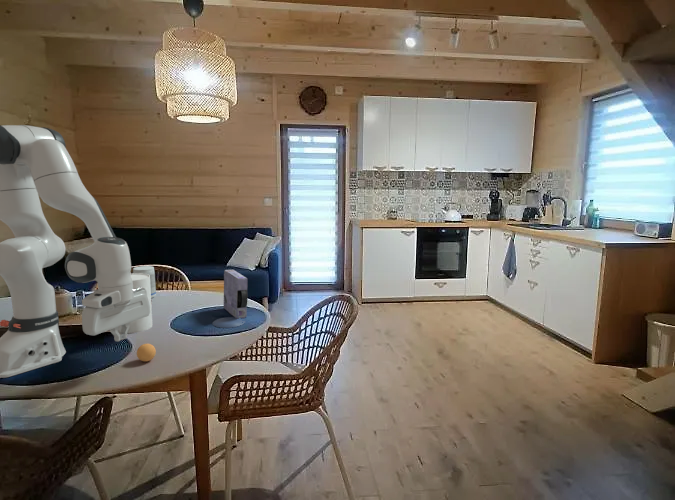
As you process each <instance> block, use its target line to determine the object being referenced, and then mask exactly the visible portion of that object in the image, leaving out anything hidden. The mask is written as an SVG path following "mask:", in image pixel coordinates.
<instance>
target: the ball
mask: <svg viewBox="0 0 675 500" xmlns="http://www.w3.org/2000/svg"><path fill="white" fill-rule="evenodd" d="M156 352H157V350H156V348H155V346H154V345H153V344H151V343H143V344H141V345H140V346H139V347H138V349H137V351H136V357H137V359H138V360H140V361H141V362H146V363H147V362H149V361H152V360H153V359H154V358H155V356H156V354H157V353H156Z"/></svg>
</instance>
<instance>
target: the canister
mask: <svg viewBox="0 0 675 500" xmlns="http://www.w3.org/2000/svg"><path fill="white" fill-rule="evenodd" d="M130 275H131V278H132V281H133V289H136V288H138V287H142V288H144V289H145V290H146V291H147V297H148V301H149V305H150V314H149V316H146V317H144V318H141V319H138V320H135V321H133V322H130V327H129V329H128V332H127V335H129V334H137V333H141V332H146V331H147V330H150V329H151V328H153V312H152V311H153V309H152V308H153V307H152V304H151V303H152V302H151V300H152V298H151V286H150V275H149V274H143V273H133V272H130ZM121 329H122V326H119V330H117V331H118V332H119V333H121Z"/></svg>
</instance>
